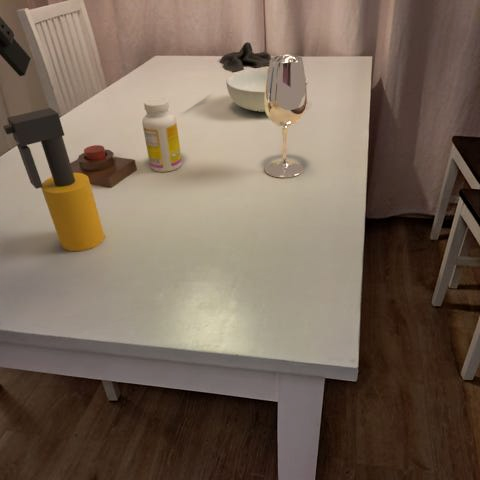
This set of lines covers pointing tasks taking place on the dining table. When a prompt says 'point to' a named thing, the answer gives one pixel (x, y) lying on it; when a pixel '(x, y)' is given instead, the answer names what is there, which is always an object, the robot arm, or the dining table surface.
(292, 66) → the wineglass
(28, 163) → the trigger
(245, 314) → the dining table surface
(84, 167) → the button block
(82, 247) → the spray bottle
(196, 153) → the dining table surface
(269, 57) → the cloth
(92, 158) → the button
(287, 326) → the dining table surface
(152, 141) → the supplement bottle
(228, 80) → the serving bowl
